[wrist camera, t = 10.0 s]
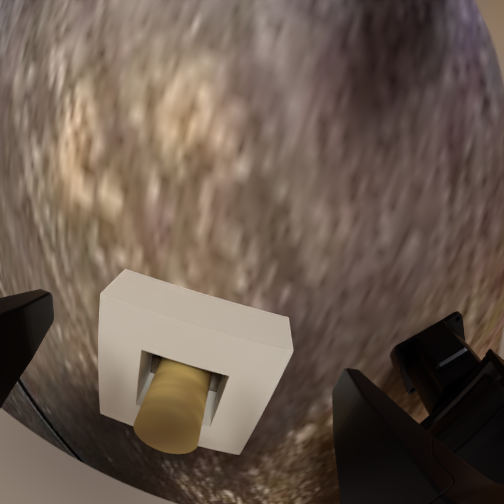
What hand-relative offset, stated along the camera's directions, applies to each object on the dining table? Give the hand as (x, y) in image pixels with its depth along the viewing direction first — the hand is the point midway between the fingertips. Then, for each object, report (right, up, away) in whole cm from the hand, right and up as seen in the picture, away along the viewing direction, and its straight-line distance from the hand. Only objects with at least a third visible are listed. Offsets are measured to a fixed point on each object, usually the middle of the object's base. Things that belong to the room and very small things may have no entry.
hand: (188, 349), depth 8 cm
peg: (-3, -6, +15) cm, 16 cm away
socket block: (-3, -6, +15) cm, 16 cm away
